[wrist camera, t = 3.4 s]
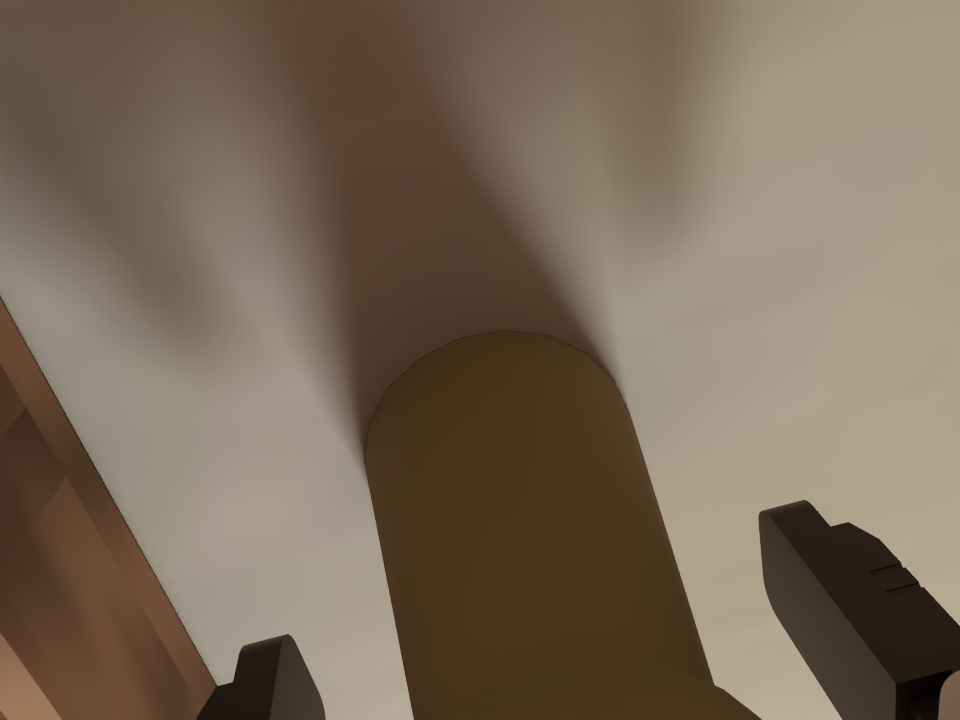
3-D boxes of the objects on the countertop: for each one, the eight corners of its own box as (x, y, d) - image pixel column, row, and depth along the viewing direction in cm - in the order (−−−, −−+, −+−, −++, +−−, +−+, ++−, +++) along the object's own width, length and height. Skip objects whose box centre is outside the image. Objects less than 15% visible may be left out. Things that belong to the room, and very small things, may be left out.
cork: (679, 470, 18) (1049, 1063, 8) (470, 602, 19) (564, 1273, 9) (538, 274, 15) (815, 779, 5) (306, 438, 16) (182, 1118, 6)
